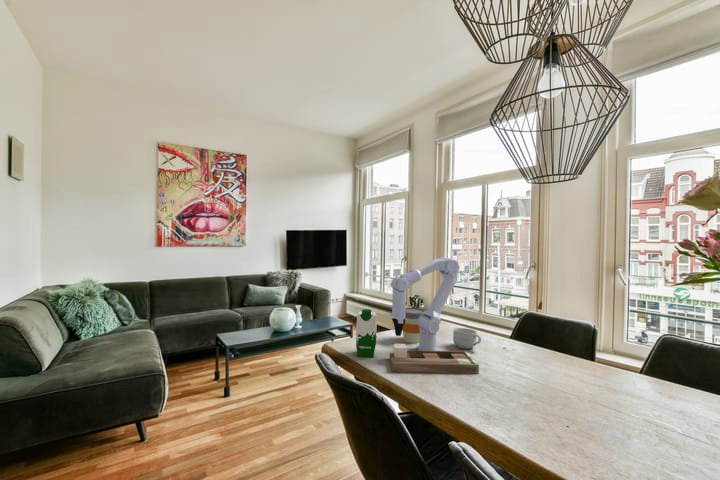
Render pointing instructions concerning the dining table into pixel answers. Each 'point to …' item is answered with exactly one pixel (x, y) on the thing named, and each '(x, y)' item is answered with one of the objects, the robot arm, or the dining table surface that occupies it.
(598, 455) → the dining table surface
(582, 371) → the dining table surface
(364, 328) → the milk carton
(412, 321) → the reusable coffee cup
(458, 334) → the teacup
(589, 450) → the dining table surface
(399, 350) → the block
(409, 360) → the trap box
